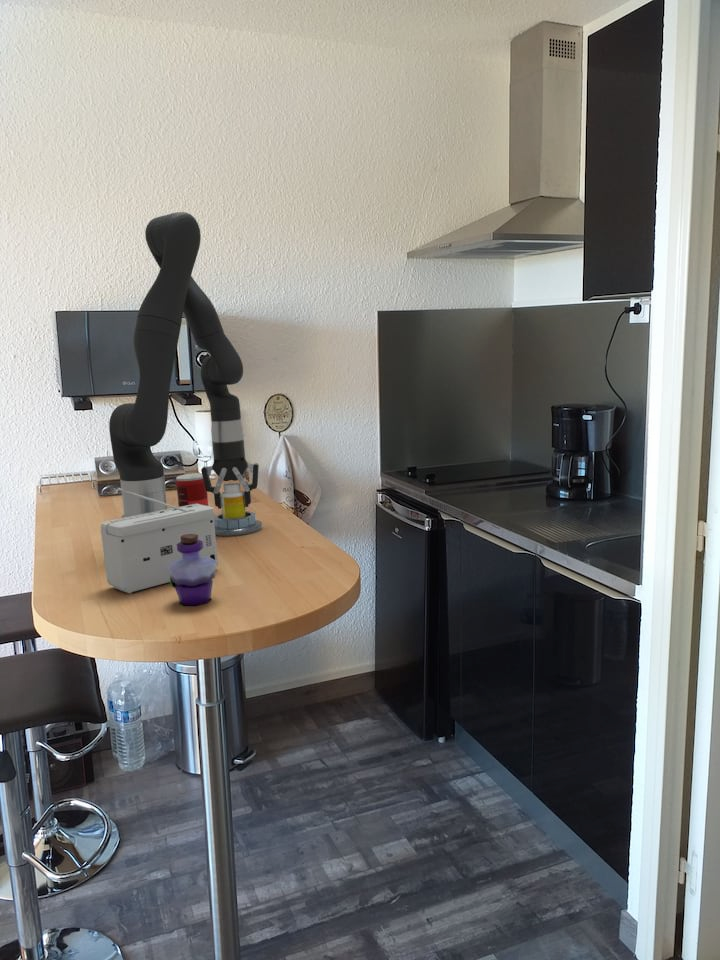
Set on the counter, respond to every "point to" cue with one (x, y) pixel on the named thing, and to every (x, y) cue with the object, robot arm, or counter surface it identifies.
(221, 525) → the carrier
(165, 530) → the stereo radio cassette player
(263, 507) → the counter surface
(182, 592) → the potion bottle
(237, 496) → the supplement bottle
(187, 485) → the canned food
